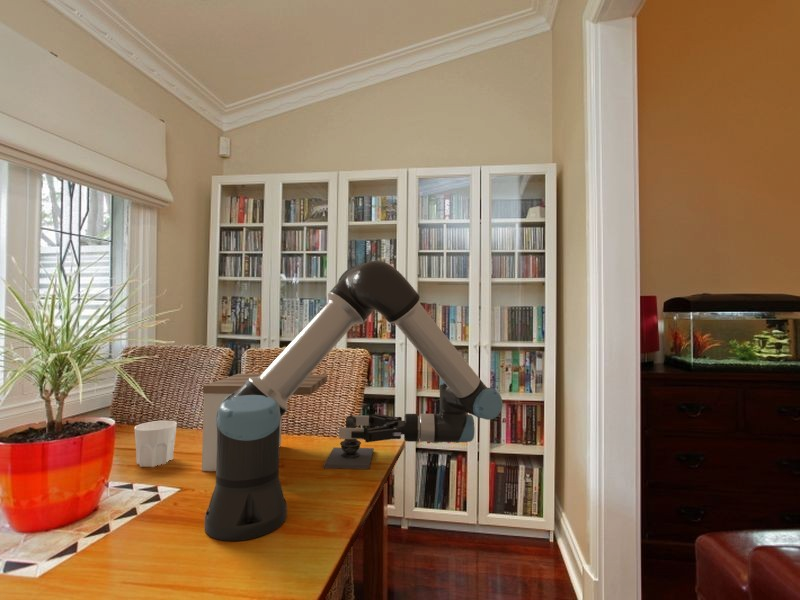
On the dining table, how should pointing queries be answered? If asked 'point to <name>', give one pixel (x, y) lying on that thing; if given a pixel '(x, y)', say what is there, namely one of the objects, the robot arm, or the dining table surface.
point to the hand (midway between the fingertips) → (343, 426)
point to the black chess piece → (350, 441)
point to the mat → (357, 463)
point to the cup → (155, 442)
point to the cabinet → (219, 392)
